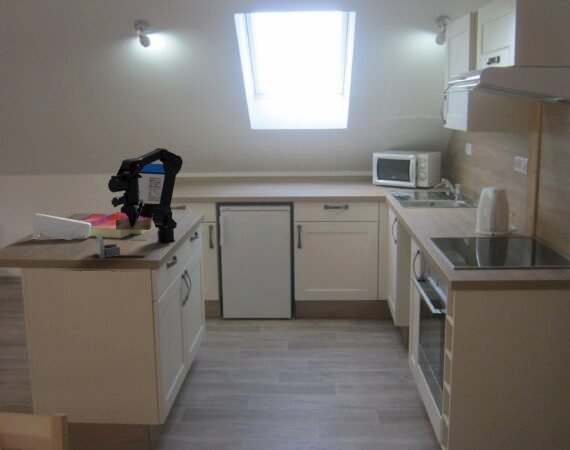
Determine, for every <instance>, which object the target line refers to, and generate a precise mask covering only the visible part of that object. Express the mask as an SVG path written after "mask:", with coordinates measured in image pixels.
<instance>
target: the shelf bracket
mask: <svg viewBox="0 0 570 450" xmlns="http://www.w3.org/2000/svg"><path fill="white" fill-rule="evenodd" d="M34 216H35V217H34V219H33V225H32V228H33V233H32V239H35V240H37V239H38V238H39V237H40V234H42V235H44V236H47V237H52V238H56V239H57V238H58V239H63V240H66V241H67V240H68V241H72V240H74V239H76V238H78V237H80V238H85V239H88V238H89V237H91V236H90V233H91V226H92V224H91V223H88V222H83V221H78V220H79V219H78V220H77V219H72V218H66V217H60V216H55V215H49V214H41V213H35V215H34Z"/></svg>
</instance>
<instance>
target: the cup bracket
mask: <svg viewBox="0 0 570 450" xmlns="http://www.w3.org/2000/svg"><path fill="white" fill-rule="evenodd" d="M94 237H95V245H96V246H95V248H96V255H97V256H98V255H99V256H98V257H99V258H100V260H101V259H105V258H113V256H114V257H116V256H115V255H120V256H121V249H120V247H119V246H118V245H117V243H109V244H104V239H103V238H104V237H101V236H100V235H99V234H97V235H95V236H94Z"/></svg>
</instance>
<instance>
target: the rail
mask: <svg viewBox="0 0 570 450" xmlns="http://www.w3.org/2000/svg"><path fill="white" fill-rule="evenodd" d="M149 229H151V219H136V222H135V225H134V227H131V225H130V222H129V219H127V218H124V217H123V218H118V219H117V220H116V230H149Z"/></svg>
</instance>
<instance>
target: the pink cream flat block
mask: <svg viewBox="0 0 570 450" xmlns="http://www.w3.org/2000/svg"><path fill="white" fill-rule="evenodd" d="M141 217H142V216H139V218H138V219H144V218H143V217H142V218H141ZM118 218H127V219H128V216H127V215H126V214H125V213H121V211H116V212H114V213H112V214H106V213H92V214H90V215H88V216H85V217H83V218H80V219H78V221H83V222H88V223H91V224H92V226H91V233H90V236H89V237H96V236H95V235H97V234H99V235H100V236H101V237H102V238H115V239H121V238H124V237H126V236H129V235H131V234H133V235H134V234H135V235H144V234H146V233H148V232H149V231H151V230H154V229H156V227H155V224H154V222H153V220H152V219H151V218H149V219H151V229H149V230H116V220H117V219H118ZM145 219H148V218H146V217H145Z"/></svg>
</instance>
